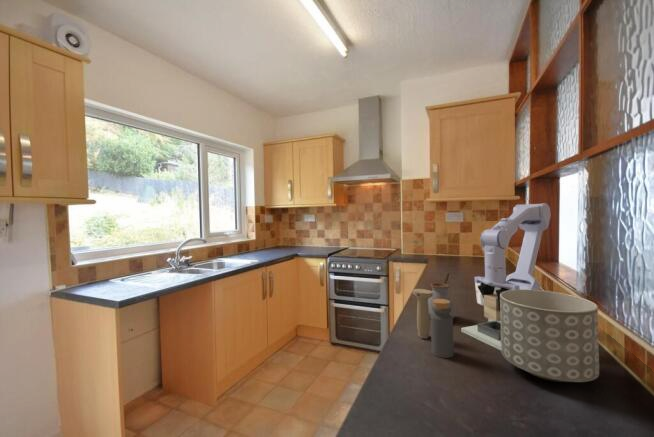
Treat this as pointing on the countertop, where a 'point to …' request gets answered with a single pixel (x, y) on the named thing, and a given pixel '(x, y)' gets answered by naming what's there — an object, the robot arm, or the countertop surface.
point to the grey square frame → (490, 329)
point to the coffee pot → (440, 296)
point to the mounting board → (482, 335)
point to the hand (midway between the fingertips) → (496, 309)
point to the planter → (550, 334)
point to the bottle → (442, 329)
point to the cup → (479, 295)
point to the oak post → (491, 307)
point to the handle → (423, 311)
